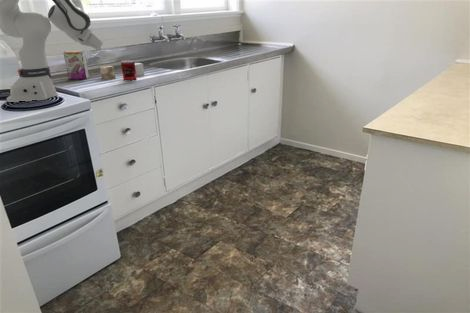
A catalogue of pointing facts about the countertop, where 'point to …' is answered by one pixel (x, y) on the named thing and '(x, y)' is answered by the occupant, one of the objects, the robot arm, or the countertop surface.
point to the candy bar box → (76, 64)
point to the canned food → (128, 69)
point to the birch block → (107, 72)
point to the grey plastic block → (139, 69)
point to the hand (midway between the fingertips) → (99, 49)
